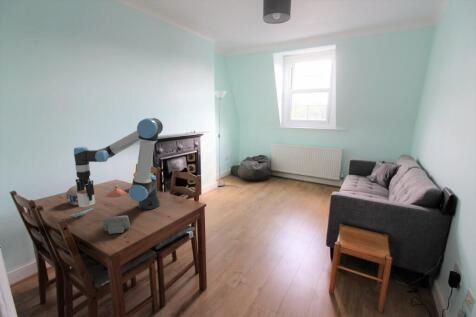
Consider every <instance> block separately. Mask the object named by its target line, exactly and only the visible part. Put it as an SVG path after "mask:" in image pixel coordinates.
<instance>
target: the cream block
mask: <svg viewBox="0 0 476 317" xmlns="http://www.w3.org/2000/svg"><path fill="white" fill-rule="evenodd" d="M77 196H78V204H79V205H78V207H81V208H86V207H89V206H88V201H87V196H88V194H87V191H86V189H85V190H82V191H78V192H77ZM95 196H96V195H95V194H94V195H92V205H94V204H96V198H95Z"/></svg>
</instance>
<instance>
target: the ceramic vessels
mask: <svg viewBox="0 0 476 317" xmlns="http://www.w3.org/2000/svg"><path fill="white" fill-rule="evenodd" d="M132 175H133V178H134V177H136V171H135V172H134V173H133V174H132ZM118 186H119V185H117V184H115V185H114V189H113V190H111V191H110V192H109V193H106V197H107V198H110V199H111V198H120V197H123V196H125V195H127V194H128V192H127V191H125V190H123V189H121V188H118Z"/></svg>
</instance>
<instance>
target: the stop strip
mask: <svg viewBox="0 0 476 317" xmlns="http://www.w3.org/2000/svg"><path fill="white" fill-rule="evenodd" d="M93 210H94V208H92V207H90V208H88V209H86V210H83V211H81V212H78V213H75V214H76V215H73V216H74V217H73V216H72V217H73V218H77V217H79V216H82V215H84V214H86V213H89V212H91V211H93Z"/></svg>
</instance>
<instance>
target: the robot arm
mask: <svg viewBox="0 0 476 317" xmlns="http://www.w3.org/2000/svg"><path fill="white" fill-rule="evenodd" d="M163 129H164V125H163V123H162V121H161V120H160V119H158V118H155V117H152V118H144V119H142V120H139V122H138V124H137V127H136V130H135V131H133V132H131V133H129V134H128V135H125V136H124V137H122V138H120V139H118V140H117V141H115V142H113V143H111V144H109V145H107V146H106V147H103V148H99V149H96V150H95V149H93V150H91V149H89V148H88V147H87V146H78V147H77V146H76V147H74V148H73V157H74V166H75V171H76V172H75V173H76V179H74V180H75V183H76V184H75V185H77V192H78V191H82V190H85V188H86V191H87V194H88V196H87V201H88V206H87V207H89V206H92V205H93V204H92V195H95V187H94V180H91V178H90V177H91V171H90V168H91V167H90V163H106V162H107V161H108V160H109V159H110V158H113V157H114V156H116V155H117V154H119V153H121V152H123V151H125V150H127V149H129V148H130V147H132V146H134V145H135V144H138V143H140V144H139V151H138V156H137V157H138V158H137V165H136V171H135V172H136V177H134V176H133V178H132V184H131V186H130V187H129V190H128V195H129V197H130V198H131V199H132V200H134V201H136V202H138V204H137V205H138V206H137V207H138V209H140V210H145V211H146V210H152V209H156V208H159V207H160V206H161V200H160V198H159V196H158V189H157V187H158V186H157V178H156V175H154V174H151V171H152V164H153V157H154V150H155V144H156V143H157V142H158V140H159V135H160V134H161V133H162V132H163Z"/></svg>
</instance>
